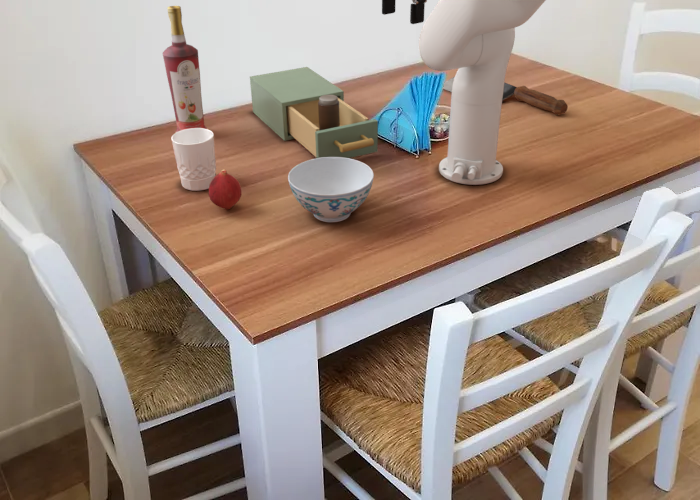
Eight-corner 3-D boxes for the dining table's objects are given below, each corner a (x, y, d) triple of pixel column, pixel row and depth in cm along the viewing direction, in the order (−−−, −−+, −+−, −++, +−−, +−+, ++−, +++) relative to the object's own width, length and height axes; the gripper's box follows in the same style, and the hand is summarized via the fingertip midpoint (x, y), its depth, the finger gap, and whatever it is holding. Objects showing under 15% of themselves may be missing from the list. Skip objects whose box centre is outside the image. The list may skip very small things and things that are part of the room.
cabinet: (344, 128, 162) (343, 91, 157) (284, 141, 156) (281, 102, 152) (308, 101, 177) (307, 66, 172) (252, 112, 171) (249, 76, 167)
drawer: (388, 159, 145) (388, 127, 142) (328, 173, 140) (327, 141, 136) (338, 122, 163) (337, 93, 159) (283, 133, 157) (281, 103, 154)
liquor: (181, 144, 156) (161, 13, 141) (171, 133, 161) (151, 5, 146) (213, 137, 158) (196, 8, 144) (202, 126, 164) (185, 1, 149)
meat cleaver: (436, 86, 185) (437, 71, 182) (468, 77, 190) (469, 62, 188) (535, 127, 162) (537, 110, 159) (568, 115, 167) (571, 99, 165)
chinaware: (279, 203, 132) (276, 166, 128) (353, 187, 137) (352, 151, 133) (308, 242, 120) (306, 201, 116) (387, 223, 125) (388, 183, 121)
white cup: (183, 195, 135) (175, 147, 130) (175, 178, 141) (167, 131, 136) (223, 188, 138) (217, 140, 132) (214, 171, 144) (208, 125, 138)
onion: (211, 218, 127) (206, 178, 123) (210, 203, 132) (205, 164, 128) (244, 215, 128) (239, 175, 124) (242, 200, 133) (237, 161, 129)
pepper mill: (336, 143, 150) (335, 102, 145) (316, 140, 151) (314, 100, 146) (342, 135, 153) (341, 95, 148) (323, 133, 154) (322, 93, 150)
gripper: (363, -74, 145) (364, 12, 154) (417, -63, 133) (414, 29, 142) (393, -77, 148) (391, 7, 158) (447, -67, 136) (442, 23, 145)
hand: (402, 18), depth 150 cm, fingers open, 9 cm apart
